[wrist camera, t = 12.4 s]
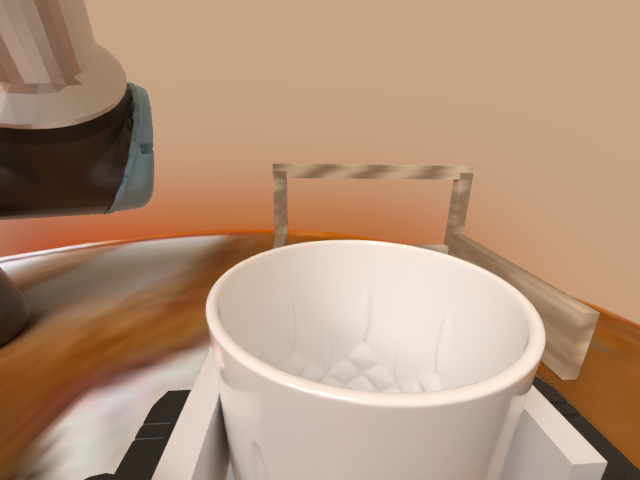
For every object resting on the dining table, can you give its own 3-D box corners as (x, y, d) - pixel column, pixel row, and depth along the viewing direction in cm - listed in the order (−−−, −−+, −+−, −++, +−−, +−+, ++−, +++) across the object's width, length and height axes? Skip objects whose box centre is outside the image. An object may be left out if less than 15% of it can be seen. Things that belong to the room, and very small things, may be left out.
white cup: (258, 436, 15) (246, 238, 12) (420, 434, 15) (447, 239, 12) (200, 744, 7) (123, 405, 4) (530, 732, 7) (682, 401, 4)
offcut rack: (255, 391, 22) (243, 189, 18) (277, 271, 42) (273, 163, 38) (579, 379, 24) (645, 191, 19) (450, 269, 44) (467, 165, 40)
